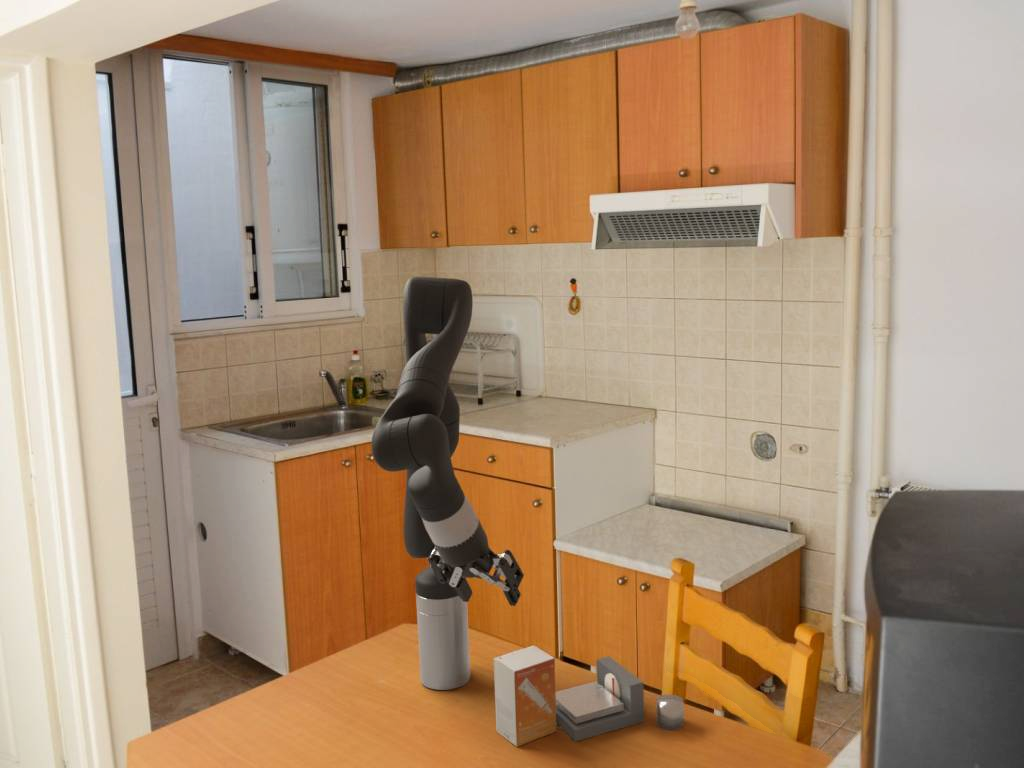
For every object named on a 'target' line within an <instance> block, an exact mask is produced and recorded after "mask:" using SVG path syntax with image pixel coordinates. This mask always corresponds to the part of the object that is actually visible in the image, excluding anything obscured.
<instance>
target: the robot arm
mask: <svg viewBox="0 0 1024 768" xmlns="http://www.w3.org/2000/svg"><path fill="white" fill-rule="evenodd" d="M402 299H403V300H402V302H403V303H402V310H403V313H402V314H403V330H404V332H403V333H404V344H405V346H404V347H405V362H406V363H405V366H404V367H403V370H402V373H401V376H400V378H399V379H400V380H399V382H398V387H397V390H396V391H397V392H396V395H395V397H394V399H392V401H391V402H390V404H389V405H388V407H387V408H386V409H385V411H384V412H383V414H382V415H381V417H380V418H379V419H378V422H377V424H376V425H375V427H374V430H373V433H372V437H371V445H370V446H371V454H372V457H373V460H374V461H375V463H376V464H377V465H378V466H379V467H380V468H381V469H382V470H384V471H386V472H391V473H392V472H394V473H395V472H396V473H397V472H402V471H406V483H405V495H404V497H405V498H404V510H403V511H404V512H403V529H402V530H403V543H404V546H405V549H406V552H407V553H408V555H409V556H410V557H412V558H414V559H426V558H427V560H428V563H429V565H430V566H429V567H426V568H425V569H424V570H422V571H420V572H419V573H418V574H417V575H416V576H415V581H414V582H415V583H414V587H415V600H416V602H415V603H416V604H415V605H416V616H417V617H416V618H417V620H416V621H417V634H418V639H417V640H418V656H419V673H420V674H419V675H420V683H421V684H422V686H424V687H426V688H428V689H432V690H437V691H448V690H453V689H457V688H460V687H463V686H465V685H466V684H468V682H470V680H471V661H470V659H471V658H470V657H471V656H470V638H469V636H470V635H469V616H468V615H469V614H468V602H469V601H470V599H471V597H472V596H473V590H472V587H471V586H470V584H469V582H468V581H467V579H468V578H469V579H470V578H471V579H472V578H476V579H477V578H478V579H480V580H481V579H482V580H484V581H486V582H487V583H488V584H490V585H491V586H492V585H496V586H497V587H498V588H500V589H501V590H502V592H503V595H504V596H505V598H506V600H507V601H508V604H509V606H512V607H515V606H516V605H517V604H518V602H519V600H520V598H521V591H520V590H519V587H520V585H521V583H522V580H523V579H524V576H525V574H524V573H523V571H522V568H521V567H520V565H519V563H518V562H517V560H516V558H515V556H514V555H513V552H512V551H511V550H509V549H505V550H504V551H503V553H495V552H494V551H493V550H492V549H491V548H490V546H489V540H488V535H487V533H486V531H485V529H484V526H483V525H482V524H481V521H480V519H479V517H478V515H477V513H476V511H475V509H474V507H473V505H472V503H471V502H470V500H469V499H468V497H467V496H466V495H465V492H464V490H463V489H462V487H461V485H460V483H459V480H458V479H457V477H456V474H455V470H454V466H453V464H452V463H453V462H452V457H453V455H454V453H455V451H456V449H457V447H458V444H459V440H460V421H461V419H460V415H461V414H460V413H461V412H460V410H461V409H460V404H459V401H458V399H457V396H456V395H455V393H454V391H453V389H452V387H450V385H449V381H450V378H451V373H452V371H453V367H454V365H455V363H456V361H457V358H458V356H459V354H460V352H461V349H462V348H463V347H462V346H463V344H464V341H465V339H466V336H467V334H468V331H469V328H470V326H471V321H472V316H473V299H474V298H473V292H472V287H471V285H470V284H469V282H468V281H466V280H463V279H460V278H459V279H458V278H448V277H431V276H430V277H429V276H428V277H427V276H413V277H410V278H409V279H408V280H407V281H406V283H405V286H404V291H403V298H402ZM426 334H429V335H437V336H436V337H435V338H434V339H432V340H431V341H429V342H428V341H427V340H428V339H427V336H426ZM493 567H494V572H493V575H491V574H490V573H491V570H492V569H493ZM501 576H502V577H503V578H504V579H505V580H502V578H501Z"/></svg>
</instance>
